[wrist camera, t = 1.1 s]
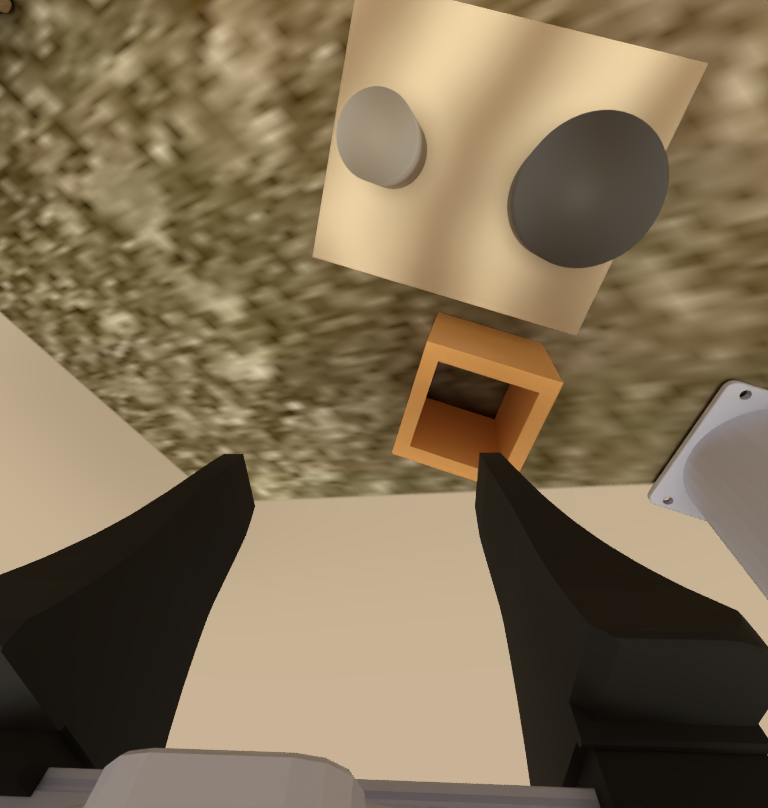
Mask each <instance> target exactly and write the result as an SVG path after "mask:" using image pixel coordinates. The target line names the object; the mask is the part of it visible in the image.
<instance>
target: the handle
mask: <svg viewBox="0 0 768 808" xmlns="http://www.w3.org/2000/svg"><path fill="white" fill-rule="evenodd" d="M11 7H12V3H11V1H10V0H0V12H4V13H8V12H9V11H10V9H11Z"/></svg>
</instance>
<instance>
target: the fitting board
mask: <svg viewBox="0 0 768 808" xmlns="http://www.w3.org/2000/svg"><path fill="white" fill-rule="evenodd" d="M707 65H708V63H705V62H701V61H697V60H693V59H688V58H684V57H680V56H676V55H672V54H668V53H664V52H660V51H656V50H652V49H648V48H644V47H640V46H636V45H632V44H628V43H623V42H619V41H615V40H611V39H607V38H603V37H599V36H595V35H591V34H587V33H583V32H579V31H575V30H571V29H567V28H562V27H558V26H554V25H550V24H546V23H542V22H538V21H534V20H530V19H526V18H522V17H518V16H514V15H510V14H506V13H502V12H497V11H493V10H489V9H485V8H481V7H477V6H473V5H469V4H465V3H461V2H457V1H453V0H355V1H354V7H353V13H352V19H351V25H350V32H349V38H348V44H347V50H346V56H345V62H344V68H343V74H342V80H341V86H340V92H339V99H338V105H337V111H336V117H335V123H334V129H333V135H332V141H331V147H330V153H329V160H328V166H327V172H326V178H325V184H324V190H323V196H322V202H321V208H320V214H319V220H318V227H317V233H316V239H315V245H314V251H313V257H315V258H319V259H322V260H325V261H329V262H332V263H335V264H339V265H342V266H345V267H349V268H352V269H355V270H359V271H362V272H365V273H369V274H372V275H375V276H379V277H382V278H385V279H389V280H392V281H395V282H399V283H402V284H405V285H409V286H412V287H415V288H419V289H422V290H425V291H429V292H432V293H435V294H439V295H442V296H445V297H449V298H452V299H455V300H459V301H462V302H465V303H469V304H472V305H475V306H479V307H482V308H485V309H489V310H492V311H495V312H499V313H502V314H505V315H509V316H512V317H515V318H519V319H522V320H525V321H529V322H532V323H535V324H539V325H542V326H545V327H549V328H552V329H555V330H559V331H562V332H565V333H569V334H572V335H575V336H576V335H577V333H578V331H579V329H580V327H581V325H582V323H583V321H584V319H585V317H586V314H587V312H588V310H589V308H590V306H591V304H592V302H593V300H594V298H595V296H596V294H597V292H598V290H599V288H600V286H601V284H602V281H603V279H604V277H605V275H606V273H607V271H608V269H609V267H610V265H611V263H612V261H613V259H615V258H617V257H618V256H620V255H622V254H623V253H625V252H626V251H627V250H629V249H630V248H632V247H633V246H634V245H635V244H636V243H637V242H638V241H639V240H640V239H641V238H642V237H643V236H644V235H645V234H646V233H647V231H648V230H649V229H650V227H651V226H652V224H653V223H654V221H655V219H656V218H657V216H658V214H659V212H660V210H661V208H662V205H663V203H664V200H665V196H666V193H667V188H668V181H669V166H668V159H667V155H666V150H667V147H668V145H669V143H670V141H671V139H672V137H673V135H674V133H675V131H676V129H677V127H678V125H679V123H680V121H681V119H682V117H683V115H684V112H685V110H686V108H687V106H688V104H689V102H690V100H691V98H692V96H693V94H694V92H695V90H696V88H697V86H698V84H699V82H700V79H701V77H702V75H703V73H704V71H705V69H706V67H707Z"/></svg>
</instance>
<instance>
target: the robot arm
mask: <svg viewBox="0 0 768 808" xmlns="http://www.w3.org/2000/svg"><path fill="white" fill-rule="evenodd" d="M745 390H747V393H746V394H745V395H744V396H742V397H739V395H740V393H741V392H742V391H745ZM667 497H670V499H668V500H666V501H665V500H663V499H665V498H667ZM648 498H649V500H650V501H651V502H652V503H653V504H656V505H659V506H662V507H665V508H668V509H671V510H674V511H677V512H681V513H683V514H686V515H690V516H693V517H696V518H699V519H702V520H705V521H707V522H708V523H709V524H710V526H711V527H712V528H713V529H714V530H715V532H716V533H717V534H718V536H719V537H720V539H721V540H722V541H723V542H724V544H725V545H726V546H727V548H728V549H729V550H730V551H731V553H732V554H733V555H734V557H735V558H736V559H737V561H738V562H739V563H740V564H741V566H742V567H743V568H744V570H745V571H746V572H747V574H748V575H749V576H750V577H751V579H752V580H753V581H754V583H755V584H756V585H757V586H758V587H759V589H760V590H761V592H762V593H763V594H764V596H765V597H766V598H767V599H768V390H767V389H764V388H760V387H757V386H754V385H750V384H747V383H744V382H740V381H735V380H733V381H728V382H727V383H725V384H724V385H723V386H722V387H721V388H720V390H719V391H718V393H717V394H716V395H715V397H714V398H713V400H712V401H711V403H710V404H709V406H708V407H707V408H706V410H705V411H704V413H703V414H702V416H701V417H700V419H699V420H698V421H697V423H696V424H695V426H694V427H693V429H692V430H691V431H690V433H689V434H688V436H687V437H686V439H685V440H684V442H683V443H682V444H681V446H680V447H679V449H678V450H677V452H676V453H675V454H674V456H673V457H672V459H671V460H670V462H669V463H668V465H667V466H666V467H665V469H664V470H663V472H662V473H661V475H660V476H659V478H658V479H657V480H656V482H655V483H654V485H653V486H652V488H651V489H650V491H649V493H648ZM254 508H255V504H254V500H253V496H252V491H251V487H250V482H249V478H248V473H247V469H246V465H245V460H244V456H243V454H223V455H222V456H220V457H218V458H217V459H215V460H213V461H212V462H210V463H209V464H207V465H206V466H204V467H203V468H201V469H200V470H199V471H197V472H196V473H194V474H193V475H191V476H190V477H188V478H187V479H185V480H184V481H183V482H181V483H180V484H178V485H177V486H175V487H174V488H172V489H171V490H169V491H168V492H166V493H165V494H163V495H161V496H160V497H158V498H157V499H155V500H154V501H152V502H150V503H149V504H147V505H146V506H144V507H142V508H141V509H139V510H138V511H136V512H134V513H133V514H131V515H129V516H128V517H126V518H124V519H122V520H120V521H119V522H117V523H115V524H113V525H111V526H109V527H107V528H105V529H104V530H102V531H100V532H98V533H96V534H94V535H92V536H90V537H88V538H86V539H83V540H81V541H79V542H77V543H75V544H73V545H70V546H68V547H66V548H64V549H62V550H60V551H58V552H55V553H54V554H51V555H49V556H46V557H44V558H41V559H39V560H37V561H34V562H32V563H29V564H27V565H25V566H22V567H19V568H16V569H14V570H11V571H9V572H6V573H3V574H1V575H0V808H768V755H767V754H768V738H767V736H766V735H765V733H764V732H763V730H762V729H761V727H760V726H759V724H758V723H759V722H760V720H761V719H762V717H763V716H764V714H765V713H766V711H767V710H768V646H767V645H766V644H765V643H764V641H763V640H762V639H761V637H760V636H759V635H758V634H757V632H756V631H755V630H754V629H753V628H752V627H751V625H750V624H749V623H748V622H747V621H746V619H745V618H744V617H743V616H742V615H741V614H740V613H739V612H738V611H737V610H735V609H732V608H730V607H728V606H725V605H723V604H721V603H719V602H717V601H714V600H712V599H710V598H708V597H705V596H703V595H701V594H699V593H696V592H694V591H692V590H689V589H687V588H685V587H683V586H681V585H679V584H677V583H675V582H673V581H671V580H669V579H667V578H665V577H663V576H662V575H660V574H658V573H656V572H654V571H652V570H650V569H648V568H646V567H645V566H643V565H641V564H639V563H637V562H635V561H634V560H632V559H630V558H629V557H627V556H626V555H624V554H622V553H620V552H619V551H617V550H616V549H614V548H612V547H610V546H609V545H608V544H606V543H604V542H603V541H601V540H600V539H598V538H597V537H595V536H594V535H593V534H591V533H590V532H588V531H587V530H586V529H584V528H583V527H581V526H580V525H579V524H577V523H576V522H575V521H573V520H572V519H571V518H569V517H568V516H567V515H566V514H564V513H563V512H562V511H561V510H560V509H558V508H557V507H556V506H555V505H554V504H552V503H551V502H550V501H549V500H548V499H547V498H546V497H544V496H543V495H542V494H541V493H540V492H539V491H538V490H537V489H536V488H535V487H534V486H533V485H532V484H531V483H530V482H529V481H528V480H527V479H526V478H525V477H524V476H523V475H522V474H521V473H520V472H519V471H518V470H517V469H516V468H515V467H514V466H513V465H512V464H511V463H510V462H509V461H508V460H507V459H506V458H505V457H504V456H503V455H502V454H501V453H500V452H493V453H479V464H478V476H477V489H476V501H475V509H476V516H477V522H478V529H479V535H480V539H481V543H482V547H483V550H484V554H485V557H486V561H487V564H488V567H489V570H490V574H491V578H492V581H493V585H494V588H495V592H496V595H497V598H498V602H499V605H500V609H501V614H502V618H503V622H504V627H505V632H506V638H507V643H508V649H509V654H510V660H511V665H512V671H513V677H514V683H515V688H516V694H517V700H518V706H519V713H520V719H521V725H522V732H523V738H524V744H525V751H526V758H527V765H528V772H529V779H530V785H531V786H519V785H493V784H467V783H440V782H416V781H414V782H413V781H389V780H364V779H355V778H354V776H353V775H352V773H351V772H350V771H349V769H347V768H345V767H343V766H340V765H339V764H337V763H335V762H332V761H330V760H329V759H327V758H323V757H317V756H311V755H305V754H299V753H285V752H256V751H228V750H200V749H199V750H198V749H170V748H165V747H166V743H167V739H168V735H169V732H170V729H171V726H172V722H173V719H174V715H175V712H176V709H177V706H178V702H179V699H180V696H181V693H182V689H183V686H184V683H185V680H186V677H187V674H188V671H189V668H190V665H191V662H192V659H193V656H194V653H195V650H196V648H197V645H198V642H199V639H200V637H201V633H202V631H203V628H204V625H205V622H206V620H207V617H208V615H209V613H210V610H211V608H212V606H213V603H214V601H215V599H216V597H217V595H218V592H219V591H220V588H221V587H222V584H223V582H224V580H225V578H226V576H227V574H228V572H229V570H230V568H231V566H232V564H233V562H234V560H235V557H236V555H237V553H238V551H239V549H240V547H241V545H242V543H243V540H244V538H245V536H246V533H247V530H248V527H249V524H250V521H251V518H252V515H253V511H254Z"/></svg>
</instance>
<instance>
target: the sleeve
mask: <svg viewBox="0 0 768 808" xmlns="http://www.w3.org/2000/svg"><path fill="white" fill-rule="evenodd" d="M438 361H439V362H442V363H445V364H448V365H452V366H455V367H458V368H461V369H465V370H468V371H471V372H474V373H477V374H481V375H484V376H487V377H490V378H493V379H497V380H500V381H503V382H506V383H509V384H510V385H509V387H508V389H507V392H506V394H505V396H504V399H503V401H502V403H501V405H500V408H499V410H498V412H497V415H496V417H495V419H492V418H489V417H486V416H482V415H479V414H476V413H473V412H470V411H467V410H464V409H461V408H457V407H454V406H451V405H448V404H445V403H442V402H439V401H435V400H432V399H429V398H426V396H427V393H428V390H429V387H430V384H431V381H432V378H433V375H434V372H435V369H436V366H437V363H438ZM562 385H563V381H562V379H561V377H560V376H559V374H558V372H557V370H556V368H555V367H554V365H553V363H552V361H551V359H550V357H549V356H548V354H547V352H546V350H545V348H544V346H543V345H542V343H539V342H536V341H533V340H530V339H526V338H523V337H520V336H516V335H513V334H510V333H506V332H503V331H500V330H497V329H493V328H490V327H487V326H483V325H480V324H477V323H473V322H470V321H467V320H464V319H460V318H457V317H454V316H450V315H447V314H444V313H440V312H438V314H437V317H436V319H435V322H434V324H433V327H432V330H431V332H430V335H429V337H428V340H427V343H426V346H425V349H424V352H423V356H422V359H421V362H420V365H419V368H418V371H417V375H416V378H415V381H414V384H413V387H412V391H411V394H410V397H409V400H408V403H407V407H406V410H405V413H404V416H403V419H402V422H401V426H400V429H399V432H398V435H397V438H396V442H395V445H394V448H393V451H392V454H395V455H398V456H401V457H404V458H407V459H410V460H413V461H416V462H419V463H422V464H425V465H428V466H431V467H434V468H437V469H440V470H443V471H446V472H449V473H452V474H455V475H458V476H461V477H464V478H467V479H470V480H473V481H476V482H477V476H478V464H479V453H493V452H500V453H501V454H502V455H503V456H504V457H505V458H506V459H507V460H508V461H509V462H510V463H511V464H512V465H513V466H514V467H515V468H516V469H517V470H518V471H519V472H520V470H521V468H522V466H523V464H524V462H525V460H526V458H527V456H528V454H529V452H530V450H531V448H532V446H533V444H534V442H535V440H536V438H537V436H538V434H539V432H540V430H541V428H542V426H543V424H544V422H545V420H546V418H547V416H548V413H549V411H550V409H551V407H552V405H553V403H554V401H555V399H556V397H557V395H558V393H559V391H560V389H561V387H562Z"/></svg>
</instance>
